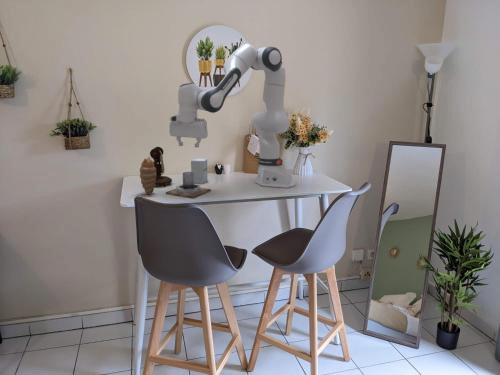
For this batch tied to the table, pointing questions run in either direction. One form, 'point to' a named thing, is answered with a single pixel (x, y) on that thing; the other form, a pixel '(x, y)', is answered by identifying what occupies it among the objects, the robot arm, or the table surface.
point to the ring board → (203, 190)
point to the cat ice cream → (148, 175)
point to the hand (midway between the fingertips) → (188, 146)
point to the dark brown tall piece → (159, 166)
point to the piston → (188, 180)
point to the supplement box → (199, 170)
